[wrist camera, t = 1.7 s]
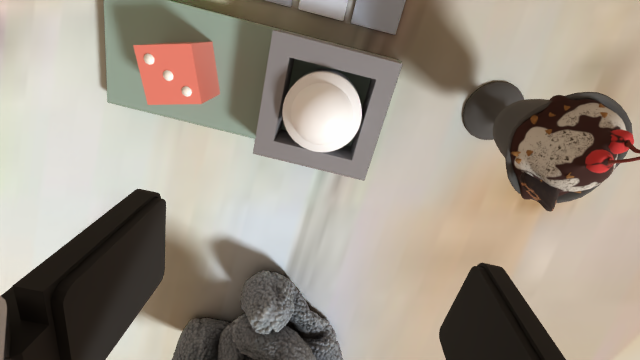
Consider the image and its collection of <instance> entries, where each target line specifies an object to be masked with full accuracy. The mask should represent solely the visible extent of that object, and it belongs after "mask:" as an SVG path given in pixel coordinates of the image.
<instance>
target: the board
mask: <svg viewBox="0 0 640 360" xmlns="http://www.w3.org/2000/svg"><path fill="white" fill-rule="evenodd" d="M104 24H105V50H106V76H107V102H108V103H112V104H116V105H120V106H124V107H128V108H132V109H136V110H140V111H144V112H148V113H152V114H157V115H161V116H165V117H169V118H173V119H177V120H181V121H185V122H189V123H193V124H197V125H201V126H205V127H209V128H213V129H217V130H222V131H226V132H230V133H234V134H238V135H242V136H246V137H250V138H254V139H255V144H254V150H253V154H257V155H261V156H265V157H269V158H273V159H278V160H282V161H286V162H290V163H294V164H298V165H302V166H306V167H310V168H314V169H318V170H323V171H327V172H331V173H335V174H339V175H343V176H347V177H351V178H355V179H359V180H365V177H366V174H367V171H368V168H369V165H370V162H371V159H372V156H373V153H374V150H375V147H376V144H377V141H378V138H379V135H380V132H381V129H382V125H383V122H384V119H385V116H386V113H387V110H388V107H389V104H390V101H391V98H392V95H393V92H394V89H395V86H396V83H397V80H398V77H399V74H400V71H401V68H402V63H401V62H402V61H400V60H397V59H393V58H389V57H386V56H382V55H378V54H374V53H370V52H366V51H363V50H359V49H355V48H351V47H347V46H343V45H340V44H336V43H332V42H328V41H324V40H321V39H317V38H313V37H309V36H305V35H301V34H298V33H294V32H290V31H286V30H282V29H278V28H275V27H271V26H267V25H263V24H259V23H256V22H252V21H248V20H244V19H240V18H236V17H233V16H229V15H225V14H221V13H217V12H213V11H210V10H206V9H202V8H198V7H194V6H191V5H187V4H183V3H179V2H175V1H171V0H104ZM181 42H213V49H214V56H215V62H216V69H217V76H218V82H219V89H220V94H219V95H218V96H216V97H214V98H212V99H210V100H208V101H206V102H204V103H202V104H171V105H148V104H147V100H146V96H145V92H144V87H143V83H142V79H141V75H140V71H139V67H138V63H137V59H136V55H135V50H134V46H133V45H143V44H156V43H181ZM317 69H331V70H335V71H338V72H340V73H342V74H343V75H345V76H346V77H347V78H348V79H349V80H350V81H351V82H352V83H353V85H354V86H355V88H356V90H357V92H358V95H359V99H360V103H361V108H362V118H361V123H360V127H359V129H358V131H357V133H356V135H355V136H354V137H353V139H352V140H351V141H350V142H349V143H347V144H346V145H345V146H343V147H342V148H339V149H337V150H334V151H330V152H315V151H311V150H308V149H306V148H304V147H302V146H300V145H299V144H298V143H296V142H295V141H294V140H293V139H292V138H291V136H290V135H289V133H288V132H287V130H286V127H285V125H284V121H283V114H282V110H283V103H284V100H285V97H286V95H287V93H288V91H289V90H290V89H291V87H292V86H293V85H294V84H295V83H296V82H297V80H298V79H299V78H300V77H302V76H303V75H304V74H306V73H308V72H310V71H313V70H317Z"/></svg>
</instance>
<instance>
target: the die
mask: <svg viewBox="0 0 640 360" xmlns="http://www.w3.org/2000/svg"><path fill="white" fill-rule="evenodd" d="M133 46H134V50H135V55H136V59H137V63H138V67H139V71H140V75H141V79H142V83H143V87H144V92H145V96H146V100H147V104H148V105H171V104H202V103H204V102H206V101H208V100H210V99H212V98H214V97H216V96H218V95H219V94H220V89H219V82H218V76H217V69H216V62H215V56H214V49H213V42H181V43H156V44H143V45H133Z"/></svg>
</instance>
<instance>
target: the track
mask: <svg viewBox="0 0 640 360" xmlns="http://www.w3.org/2000/svg"><path fill="white" fill-rule="evenodd" d="M265 1H269V2H273V3H277V4H280V5H284V6H288V7H291V4H292V0H265ZM405 2H406V0H356V4H355V8H354V12H353V16H352V20H351V23H352V24H356V25H360V26H363V27H367V28H371V29H375V30H379V31H382V32H386V33H390V34H394V35H395V34H396V31H397V27H398V24H399V21H400V18H401V14H402V11H403V8H404V5H405ZM347 4H348V0H300V2H299V7H298V9H299V10H303V11H307V12H311V13H314V14H318V15H322V16H326V17H329V18H333V19H337V20H341V21H343V20H344V16H345V12H346V8H347Z"/></svg>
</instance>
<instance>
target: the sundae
mask: <svg viewBox="0 0 640 360" xmlns="http://www.w3.org/2000/svg"><path fill="white" fill-rule="evenodd" d="M463 120H464V125H465V127H466V129H467V130H468V131H469V133H470V134H471V135H473V136H475V137H477V138H479V139H484V140H493V139H494V140H495V142H496V144H497V147H498V148H499V150H500V152H501V153H502V154H503V156H504V157H505V159H506V169H507V175H508V179H509V181H510V182H511V184H512V186H513V187H514V189H515V190H516V191H517V192H519V193H520V194H521V196H522V198H524V199H533V200H536V201H537V202H539V203H540V204H541V205H542V206H543V207H544V208H545V209H546V210H547V211H553V209H554V207H555V204H556V203H561V202H567V201H572V200H575V199H578V198H581V197H583V196H584V195H586V194H588V193H589V192H591V191H592V190H594V189H595V188H596V187H597V186H599V185H600V184H601V183H602V182H603V181H604V180H605V179H607V178H608V177H609V176H610V174H611V173H612V172H613V170H614V169H615V168H616V167H617V166H618V165H619V164H620V163H624V162H631V161H636V160H640V157H636V158H630V159H623V158H624V157H625V156H626V154H627V152H628V150H629V149H631V150H632V151H633V152H635V153H640V150H639V149H636V148H635V147H634V146H633V143H634V139H633V135H632V124H631V122H630V120H629V118H628V116H627V114H626V112H625V111H624V110H623V108H622V107H621V106H620V105H619V104H618V103H617V102H615V101H614V100H613V99H611V98H610V97H608V96H606V95H603V94H600V93H597V92H582V93H574V94H571V95H567V96H562V95H556V96H553V97H552V98H551V99H550V100H545V99H530V100H524V98H523V95H522V94H521V92H520V91H519V89H518V88H517V87H515V86H514V85H512V84H510V83H507V82H493V83H489V84H486V85H484V86H482V87H481V88H479V89H478V90H476V91H475V92H474V93H473V94H472V95H471V97H470V98H469V99H468V101H467V103H466V105H465V108H464V112H463Z"/></svg>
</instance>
